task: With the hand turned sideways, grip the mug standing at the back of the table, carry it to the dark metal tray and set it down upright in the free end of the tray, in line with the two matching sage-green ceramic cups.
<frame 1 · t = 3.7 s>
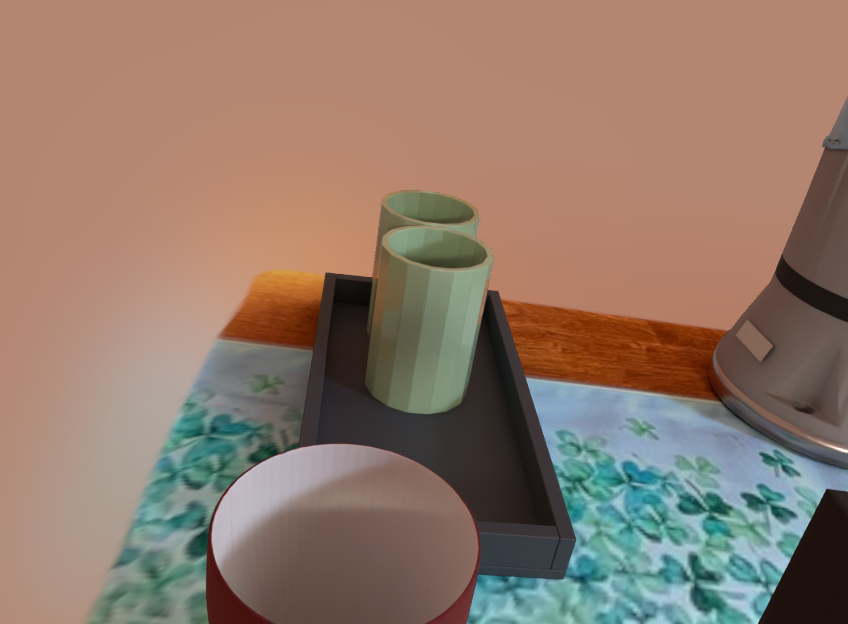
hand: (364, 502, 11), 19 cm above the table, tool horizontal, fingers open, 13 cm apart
cup b: (414, 391, 47), resting on tray
tray: (415, 409, 45), on the table
cup a: (410, 339, 52), resting on tray
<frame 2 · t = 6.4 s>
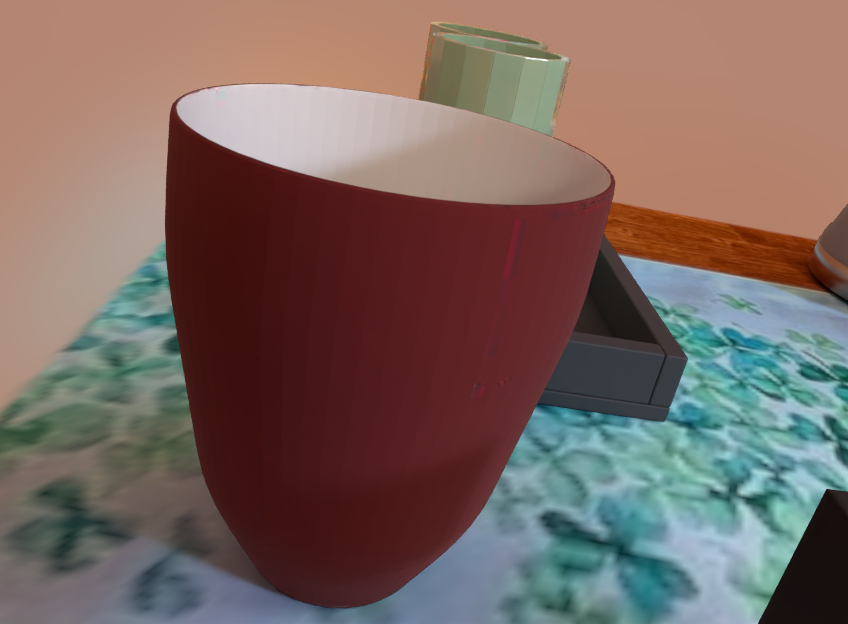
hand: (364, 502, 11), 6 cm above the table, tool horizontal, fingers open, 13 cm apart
cup b: (460, 246, 38), resting on tray
tray: (462, 260, 37), on the table
cup a: (454, 208, 44), resting on tray
mug: (348, 518, 19), on the table
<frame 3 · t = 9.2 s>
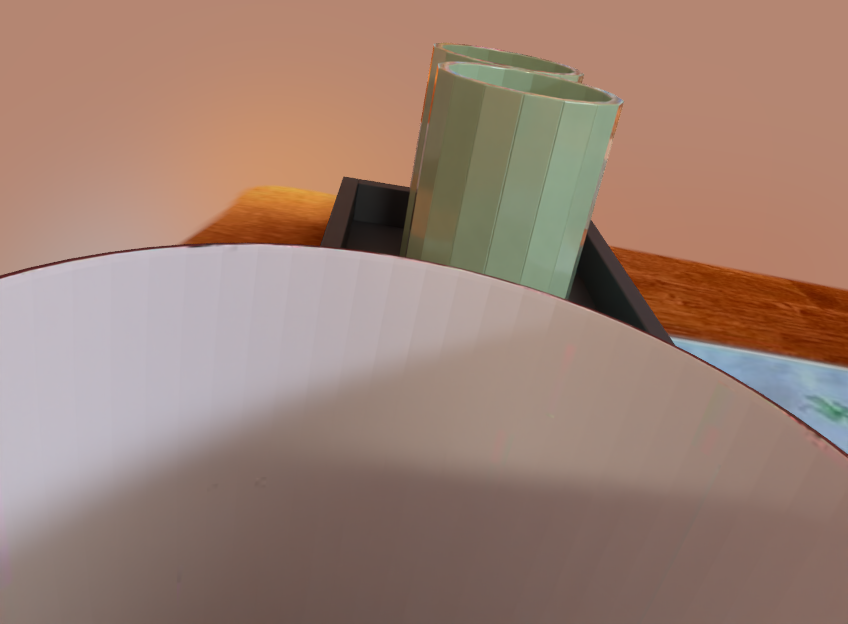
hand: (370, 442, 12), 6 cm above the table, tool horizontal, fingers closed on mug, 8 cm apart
cup b: (472, 336, 30), resting on tray
tray: (476, 359, 28), on the table
cup a: (463, 273, 36), resting on tray
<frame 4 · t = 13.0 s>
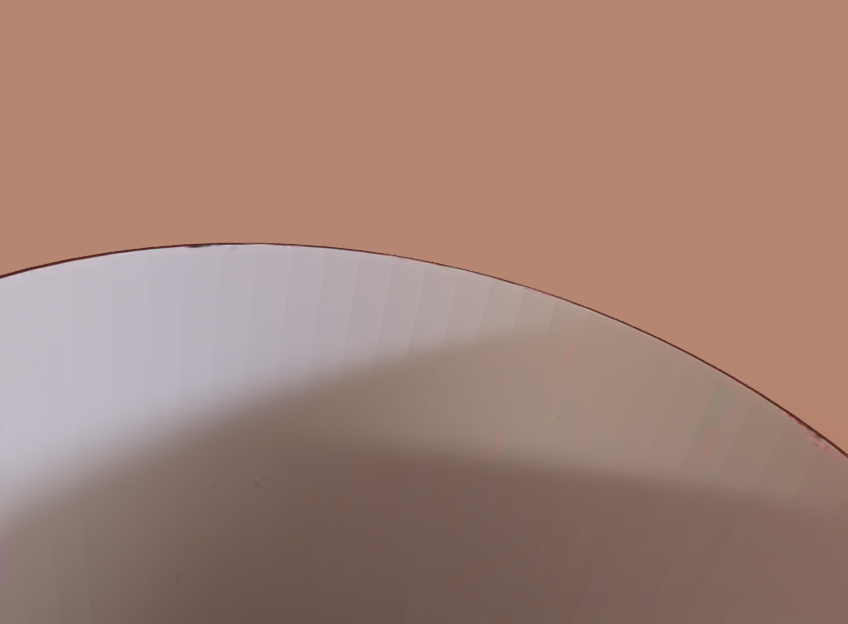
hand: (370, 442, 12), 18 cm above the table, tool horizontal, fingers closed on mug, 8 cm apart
when the fingers open (7 cm above the table, at t = 16.8 s): mug stays where it is, resting on tray.
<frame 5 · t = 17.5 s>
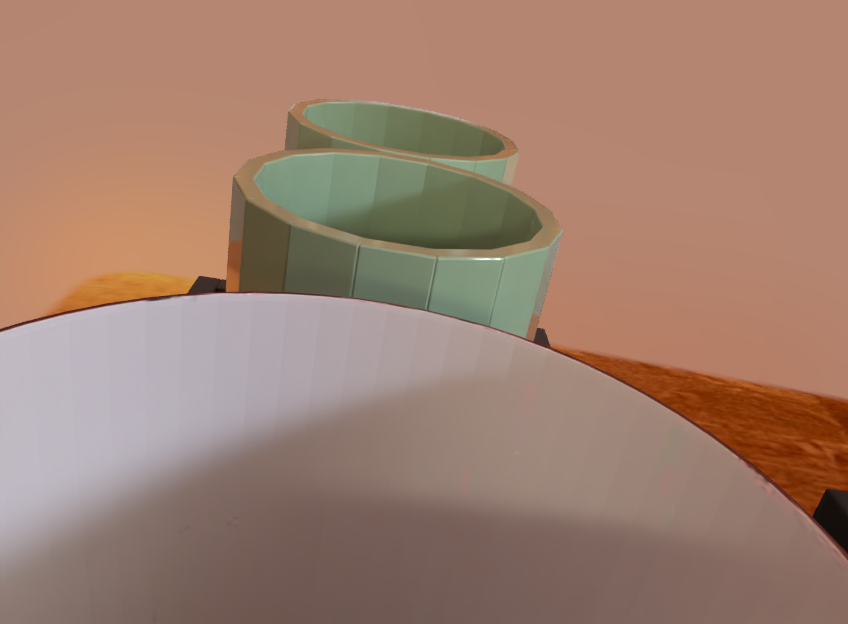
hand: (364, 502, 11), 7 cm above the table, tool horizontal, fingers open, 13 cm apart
cup b: (339, 567, 19), resting on tray
cup a: (358, 422, 25), resting on tray
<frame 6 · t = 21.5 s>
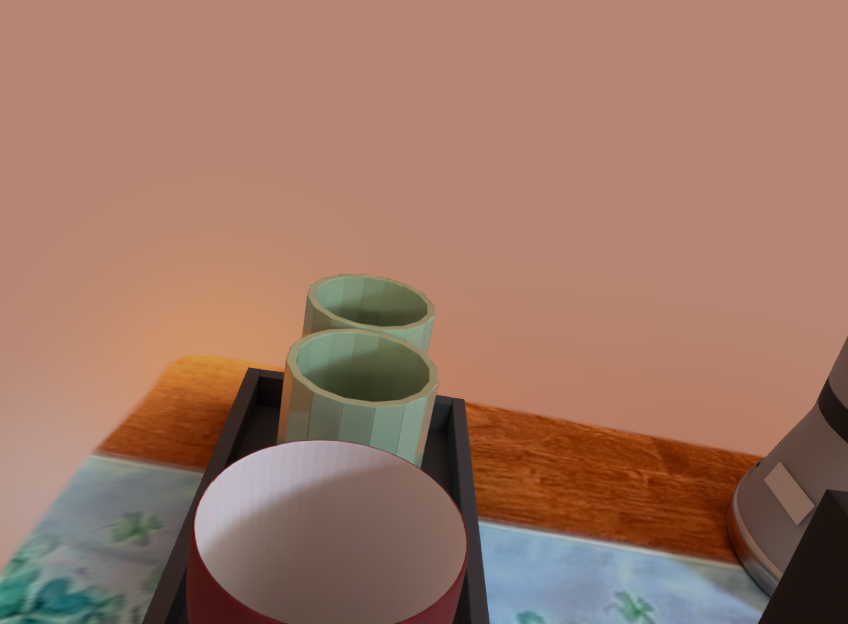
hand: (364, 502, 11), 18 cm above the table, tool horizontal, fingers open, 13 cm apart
cup b: (334, 543, 35), resting on tray
tray: (330, 574, 34), on the table
cup a: (346, 460, 41), resting on tray
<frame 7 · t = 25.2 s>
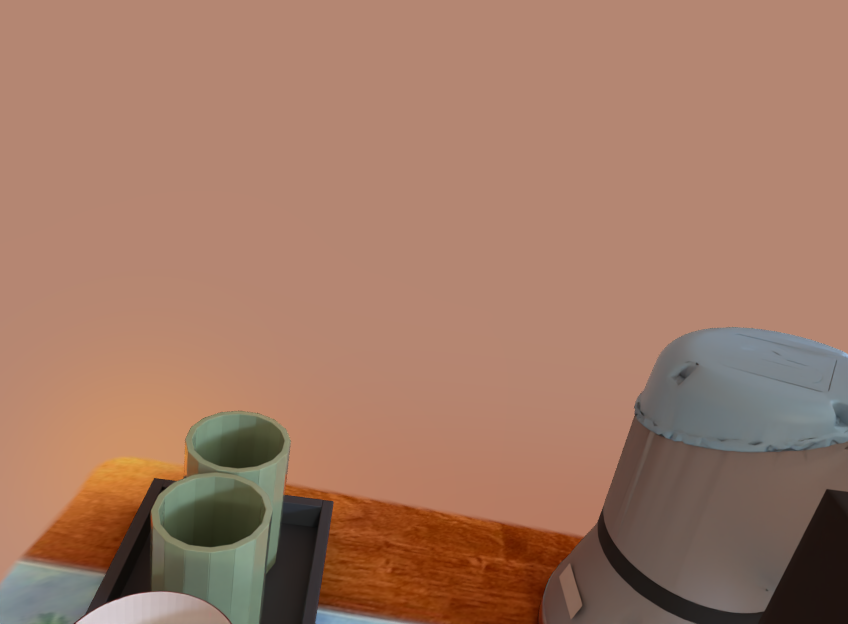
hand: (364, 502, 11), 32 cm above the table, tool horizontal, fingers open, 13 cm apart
cup a: (229, 557, 51), resting on tray
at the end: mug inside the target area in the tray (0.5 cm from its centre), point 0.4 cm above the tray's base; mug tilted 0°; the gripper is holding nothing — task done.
